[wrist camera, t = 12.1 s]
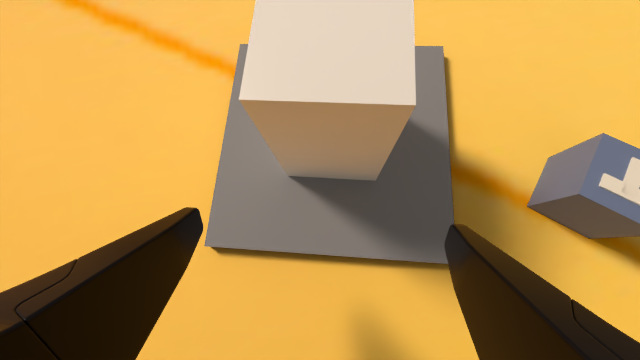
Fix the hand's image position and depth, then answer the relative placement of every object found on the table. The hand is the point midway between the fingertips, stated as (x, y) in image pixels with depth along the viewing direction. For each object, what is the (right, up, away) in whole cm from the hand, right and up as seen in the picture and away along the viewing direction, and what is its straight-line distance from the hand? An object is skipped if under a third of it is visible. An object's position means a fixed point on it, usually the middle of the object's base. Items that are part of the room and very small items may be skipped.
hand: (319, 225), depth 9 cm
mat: (+1, +4, +10) cm, 11 cm away
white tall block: (+1, +5, +9) cm, 11 cm away
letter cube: (+17, +1, +8) cm, 18 cm away
